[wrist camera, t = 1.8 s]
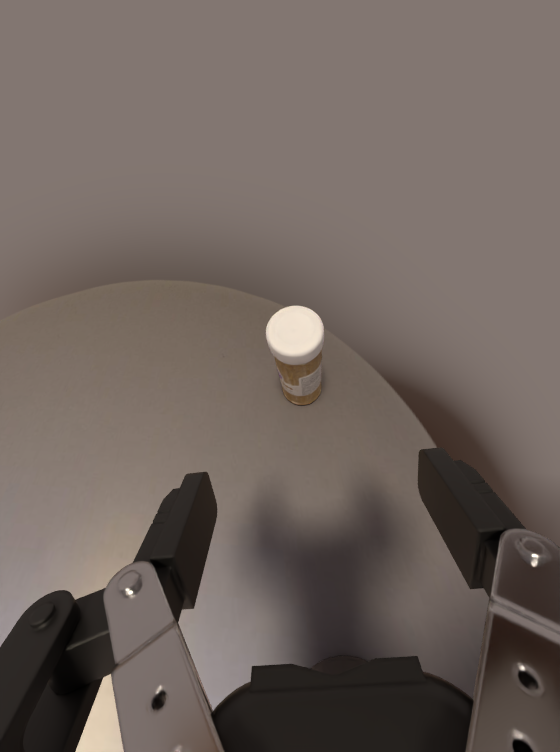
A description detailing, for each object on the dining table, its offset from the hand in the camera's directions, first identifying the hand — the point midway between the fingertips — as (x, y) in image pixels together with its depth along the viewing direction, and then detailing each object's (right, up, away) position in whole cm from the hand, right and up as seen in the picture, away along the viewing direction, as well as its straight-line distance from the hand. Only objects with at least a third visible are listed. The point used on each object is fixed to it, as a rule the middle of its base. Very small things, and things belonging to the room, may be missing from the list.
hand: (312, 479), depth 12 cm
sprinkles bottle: (+1, +2, +25) cm, 25 cm away
